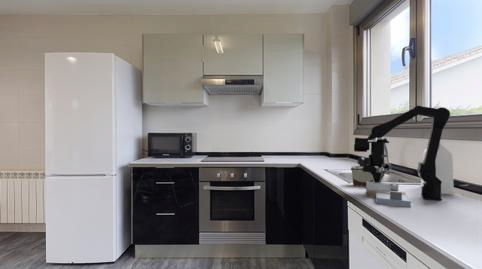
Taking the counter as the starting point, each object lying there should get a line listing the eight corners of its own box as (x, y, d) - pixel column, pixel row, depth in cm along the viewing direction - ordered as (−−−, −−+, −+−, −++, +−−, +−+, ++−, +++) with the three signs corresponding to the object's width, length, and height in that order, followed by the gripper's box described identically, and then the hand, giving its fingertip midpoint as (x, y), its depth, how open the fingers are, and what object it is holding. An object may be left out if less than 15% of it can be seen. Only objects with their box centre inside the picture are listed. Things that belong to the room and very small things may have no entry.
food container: (375, 185, 151) (376, 166, 151) (375, 187, 146) (376, 168, 146) (351, 183, 157) (351, 165, 156) (350, 185, 151) (350, 166, 151)
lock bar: (398, 191, 126) (398, 183, 126) (398, 192, 123) (398, 185, 122) (366, 188, 131) (366, 181, 131) (366, 190, 128) (366, 182, 128)
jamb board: (405, 195, 128) (405, 190, 128) (407, 200, 120) (407, 195, 120) (366, 192, 135) (366, 187, 135) (366, 196, 127) (366, 191, 127)
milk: (453, 194, 131) (455, 138, 131) (424, 192, 136) (425, 137, 136) (447, 189, 142) (448, 137, 142) (420, 187, 147) (421, 137, 146)
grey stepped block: (407, 200, 120) (407, 188, 119) (410, 206, 110) (410, 193, 110) (376, 197, 125) (376, 185, 125) (376, 203, 115) (376, 190, 115)
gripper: (368, 150, 145) (368, 180, 145) (351, 152, 132) (351, 185, 133) (392, 151, 137) (391, 184, 137) (376, 154, 124) (375, 189, 125)
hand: (377, 185), depth 133 cm, fingers closed
